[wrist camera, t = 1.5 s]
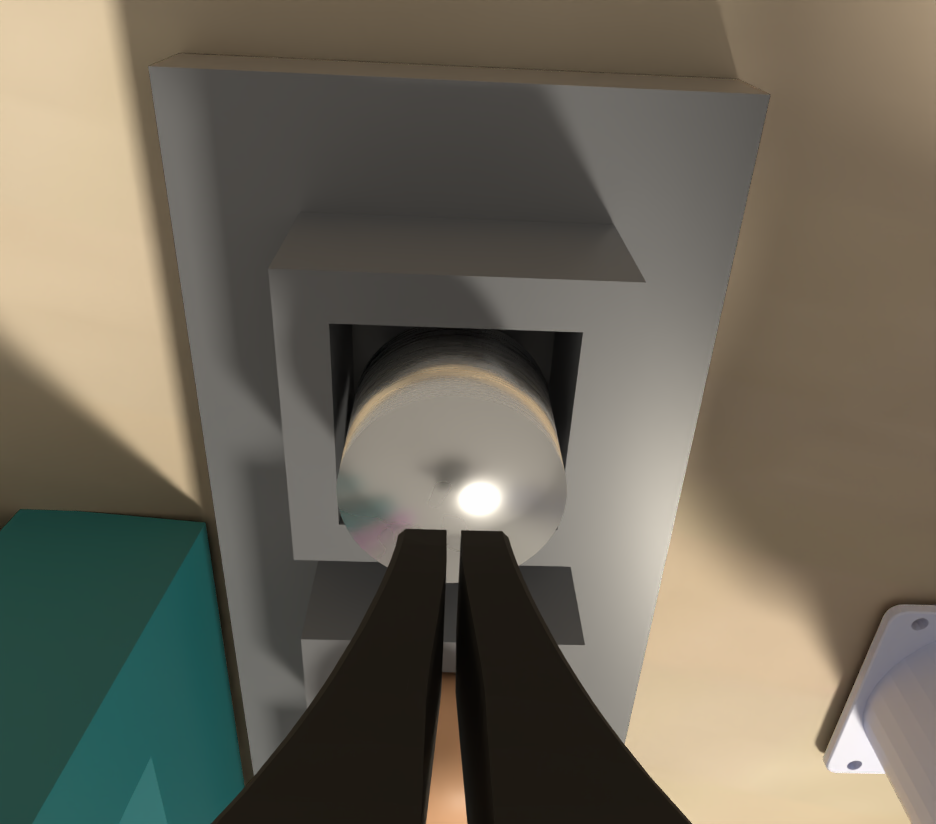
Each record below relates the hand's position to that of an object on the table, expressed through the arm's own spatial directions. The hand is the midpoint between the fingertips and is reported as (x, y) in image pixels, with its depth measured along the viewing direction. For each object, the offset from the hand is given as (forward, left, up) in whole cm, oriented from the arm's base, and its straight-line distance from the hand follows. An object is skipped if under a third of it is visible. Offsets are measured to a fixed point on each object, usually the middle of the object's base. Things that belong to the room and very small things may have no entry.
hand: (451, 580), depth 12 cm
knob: (0, 0, -5) cm, 5 cm away
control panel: (0, +9, -9) cm, 13 cm away
